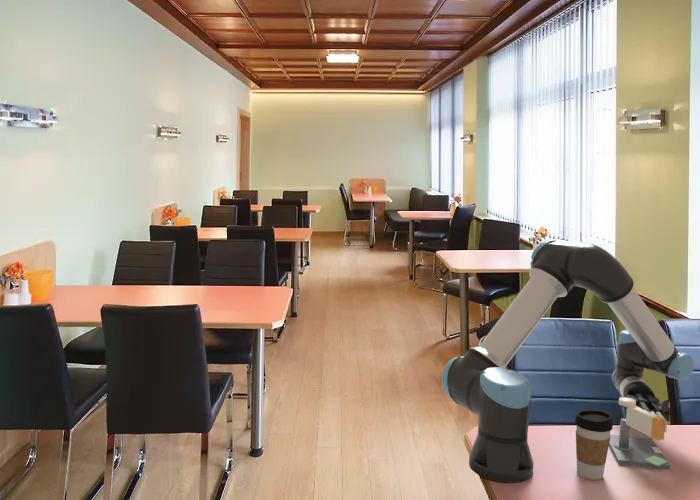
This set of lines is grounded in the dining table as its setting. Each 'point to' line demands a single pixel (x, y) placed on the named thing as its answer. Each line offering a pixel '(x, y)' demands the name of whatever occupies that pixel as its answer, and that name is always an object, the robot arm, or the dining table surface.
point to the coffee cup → (592, 442)
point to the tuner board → (638, 453)
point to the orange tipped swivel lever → (639, 422)
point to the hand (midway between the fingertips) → (662, 426)
